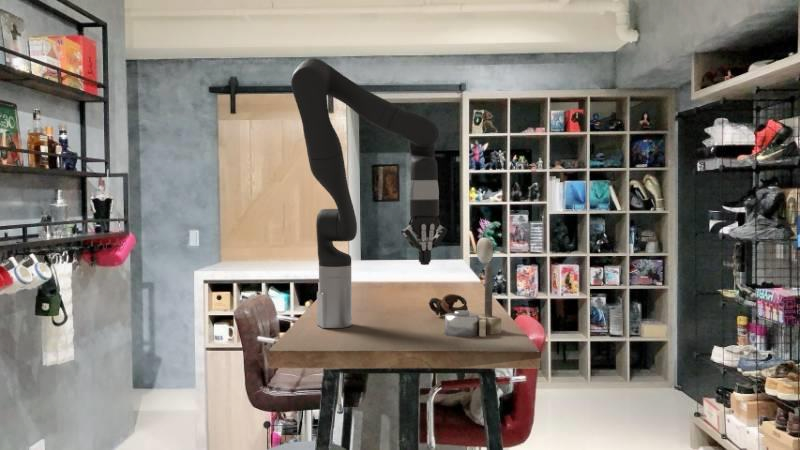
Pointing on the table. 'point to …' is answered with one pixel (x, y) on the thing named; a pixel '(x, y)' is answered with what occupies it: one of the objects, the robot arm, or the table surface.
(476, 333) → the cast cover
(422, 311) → the table surface
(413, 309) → the table surface
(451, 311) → the pottery mug
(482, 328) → the wooden display stand
